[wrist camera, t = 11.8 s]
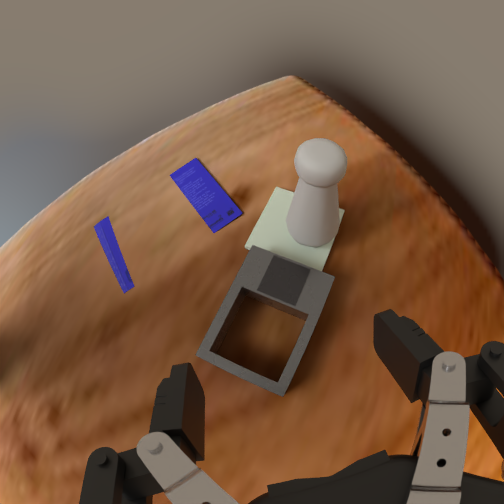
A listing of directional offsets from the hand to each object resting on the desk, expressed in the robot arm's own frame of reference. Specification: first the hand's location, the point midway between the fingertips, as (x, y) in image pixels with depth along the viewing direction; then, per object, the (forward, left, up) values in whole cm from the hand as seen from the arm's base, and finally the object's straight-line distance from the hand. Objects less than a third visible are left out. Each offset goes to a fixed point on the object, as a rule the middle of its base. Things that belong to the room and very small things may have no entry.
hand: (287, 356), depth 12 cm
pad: (-5, +15, -18) cm, 24 cm away
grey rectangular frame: (-4, +4, -18) cm, 18 cm away
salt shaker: (-3, +15, -17) cm, 23 cm away
